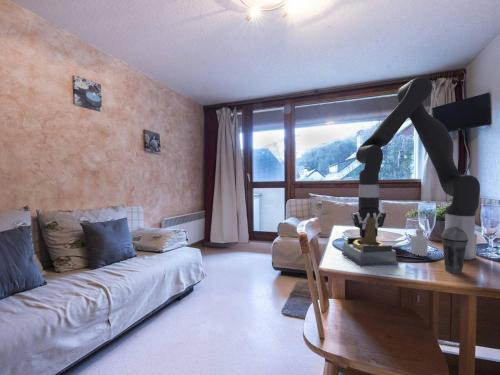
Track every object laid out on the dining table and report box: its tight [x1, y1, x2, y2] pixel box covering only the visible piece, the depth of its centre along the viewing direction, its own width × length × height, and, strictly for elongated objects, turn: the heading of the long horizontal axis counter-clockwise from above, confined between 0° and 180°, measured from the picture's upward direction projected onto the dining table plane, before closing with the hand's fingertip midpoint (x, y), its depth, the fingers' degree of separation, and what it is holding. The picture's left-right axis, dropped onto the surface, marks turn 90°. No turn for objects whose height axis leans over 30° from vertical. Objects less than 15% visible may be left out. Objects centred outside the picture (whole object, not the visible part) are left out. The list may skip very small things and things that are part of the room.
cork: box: [361, 217, 378, 245], centre depth 100 cm, size 6×6×11 cm
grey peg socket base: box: [341, 236, 399, 267], centre depth 101 cm, size 15×15×7 cm
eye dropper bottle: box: [410, 226, 429, 257], centre depth 103 cm, size 4×6×12 cm
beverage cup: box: [440, 215, 468, 275], centre depth 86 cm, size 7×7×20 cm
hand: (368, 237), depth 100 cm, fingers closed on cork, 4 cm apart
